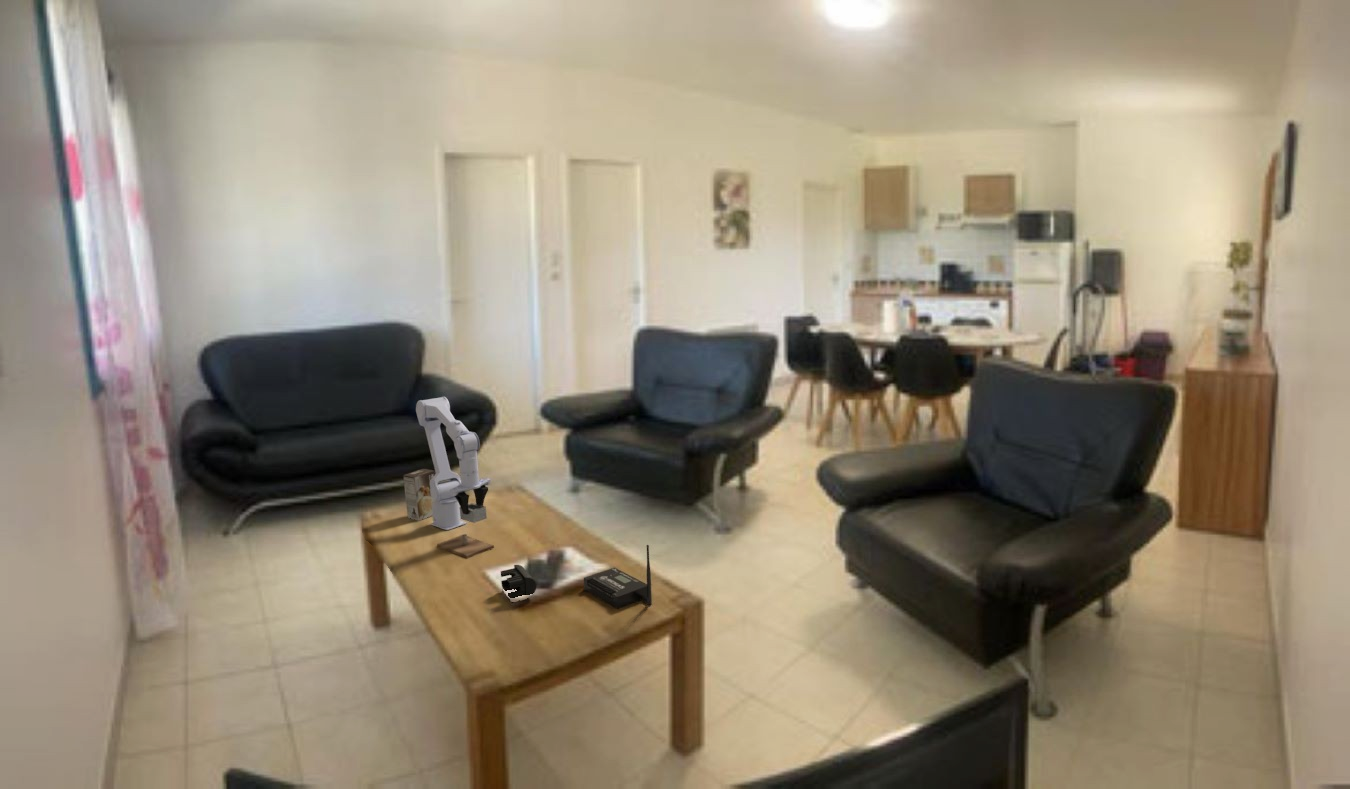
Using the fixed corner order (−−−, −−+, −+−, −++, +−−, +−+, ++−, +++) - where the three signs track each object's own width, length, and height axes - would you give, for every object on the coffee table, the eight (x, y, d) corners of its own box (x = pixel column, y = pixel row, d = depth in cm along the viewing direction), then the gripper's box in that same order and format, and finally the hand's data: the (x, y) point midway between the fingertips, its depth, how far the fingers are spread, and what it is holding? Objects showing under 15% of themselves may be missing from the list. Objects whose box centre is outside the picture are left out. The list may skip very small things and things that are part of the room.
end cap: (537, 598, 216) (536, 574, 215) (512, 604, 213) (510, 580, 212) (526, 584, 225) (524, 562, 224) (501, 590, 222) (499, 567, 220)
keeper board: (437, 546, 255) (436, 534, 254) (463, 536, 262) (462, 525, 261) (467, 558, 245) (466, 545, 244) (493, 547, 252) (492, 535, 251)
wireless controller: (578, 592, 219) (575, 534, 216) (620, 578, 228) (617, 521, 225) (621, 618, 204) (618, 555, 201) (663, 601, 213) (661, 541, 210)
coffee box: (427, 510, 289) (423, 467, 286) (439, 513, 285) (435, 470, 282) (406, 518, 281) (402, 474, 278) (418, 521, 278) (414, 477, 275)
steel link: (460, 518, 258) (459, 507, 257) (473, 514, 262) (472, 502, 261) (474, 523, 254) (472, 511, 253) (486, 518, 258) (485, 506, 257)
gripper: (458, 478, 247) (461, 520, 249) (495, 467, 258) (498, 507, 260) (444, 474, 251) (448, 515, 254) (481, 464, 262) (484, 503, 265)
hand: (472, 511), depth 257 cm, fingers closed on steel link, 5 cm apart
